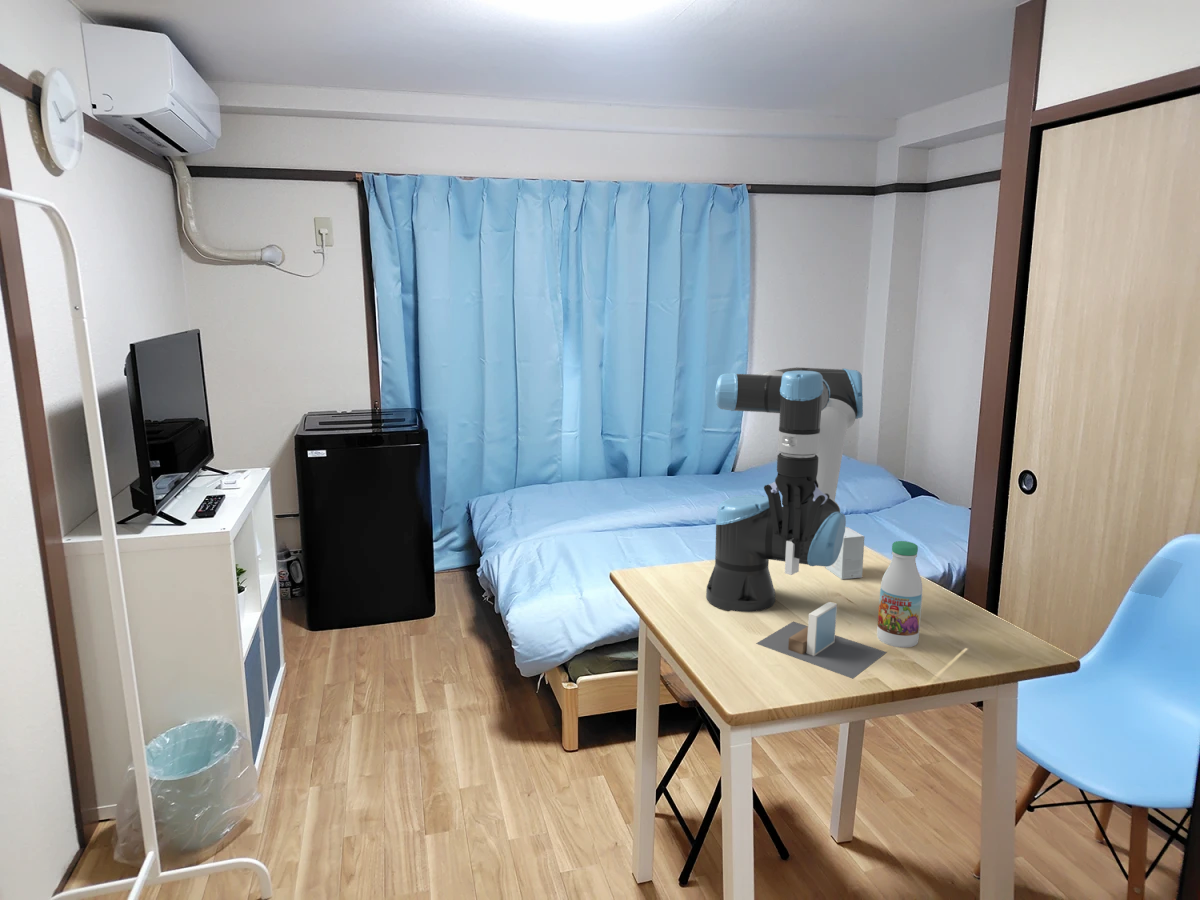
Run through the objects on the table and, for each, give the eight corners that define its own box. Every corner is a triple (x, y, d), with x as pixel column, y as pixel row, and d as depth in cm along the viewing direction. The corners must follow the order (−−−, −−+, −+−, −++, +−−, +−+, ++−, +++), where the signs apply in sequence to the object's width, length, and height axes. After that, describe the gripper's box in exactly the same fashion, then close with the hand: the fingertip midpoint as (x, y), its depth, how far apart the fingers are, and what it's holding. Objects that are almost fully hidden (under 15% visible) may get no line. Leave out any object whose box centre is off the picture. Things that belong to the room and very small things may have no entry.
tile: (806, 653, 147) (808, 613, 146) (826, 639, 153) (829, 601, 151) (814, 656, 146) (816, 616, 145) (834, 642, 152) (837, 603, 150)
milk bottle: (877, 629, 159) (884, 535, 154) (918, 635, 156) (927, 540, 151) (875, 645, 152) (882, 547, 147) (917, 652, 149) (926, 552, 144)
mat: (756, 645, 152) (756, 643, 152) (793, 623, 162) (793, 621, 161) (852, 680, 138) (852, 678, 138) (886, 654, 148) (886, 652, 148)
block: (788, 649, 149) (788, 637, 148) (814, 633, 156) (814, 621, 156) (802, 654, 147) (803, 642, 146) (828, 637, 154) (828, 626, 153)
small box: (862, 578, 186) (865, 536, 184) (841, 580, 185) (844, 537, 183) (845, 566, 194) (848, 526, 192) (824, 568, 193) (827, 527, 191)
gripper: (757, 451, 148) (752, 569, 153) (819, 462, 140) (812, 586, 144) (778, 446, 154) (772, 559, 158) (839, 455, 145) (831, 575, 150)
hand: (791, 572), depth 151 cm, fingers closed
